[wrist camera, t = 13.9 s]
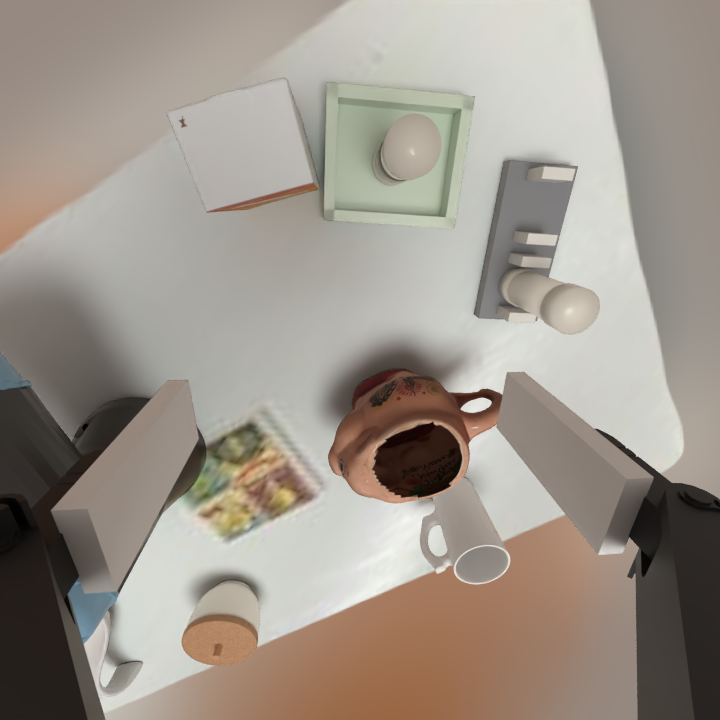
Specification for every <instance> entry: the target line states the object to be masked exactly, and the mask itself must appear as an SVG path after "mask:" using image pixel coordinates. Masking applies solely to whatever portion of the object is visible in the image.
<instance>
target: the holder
mask: <svg viewBox="0 0 720 720" xmlns="http://www.w3.org/2000/svg"><path fill="white" fill-rule="evenodd" d="M577 169H578V166H568V165H556V164H544V163H532V162H520V161H507V162H504V164H503V169H502V174H501V180H500V185H499V190H498V195H497V200H496V205H495V210H494V215H493V221H492V226H491V231H490V236H489V241H488V246H487V251H486V256H485V262H484V267H483V272H482V277H481V282H480V287H479V292H478V297H477V303H476V308H475V313H474V315H475V316H477V317H478V318H487V319H505V320H506V321H508V322H526V323H535V321H537V318H540V319H542V320H543V321H544V322H545V323H546V324H547V325H549V326H551V327H552V328H554V329H556V330H558V331H559V332H561V333H563V334H568V335H572V334H577V333H580V332H582V331H584V330H586V329H587V328H588V327H590V326H591V325H592V324H593V322H594V321H595V320H596V318H597V316H598V313H599V309H600V302H599V298H598V296H597V295H596V294H595V293H594V292H593V291H591V290H589V289H586V288H583V287H580V286H577V285H575V284H570V283H563V282H560V281H557V280H554V279H551V278H549V273H550V270H551V266H552V262H553V258H554V255H555V251H556V247H557V243H558V240H559V236H560V232H561V228H562V225H563V221H564V217H565V213H566V210H567V206H568V202H569V199H570V195H571V191H572V187H573V184H574V180H575V176H576V172H577Z"/></svg>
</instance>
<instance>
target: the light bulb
mask: <svg viewBox="0 0 720 720" xmlns="http://www.w3.org/2000/svg"><path fill="white" fill-rule="evenodd" d="M440 152H441V136H440V133H439V130H438V128H437V126H436V125H435V123H434V122H433V121H432V120H431V119H430V118H428V117H427V116H425V115H422V114H418V113H412V114H407V115H405V116H403V117H401V118H399V119H398V120H397V121H396V122H395V123H394V124H393V125H392V127H391V128H390V130H389V131H388V133H387V134H386V136H385V138H384V140H383V141H382V142H381V143H380V144H379V146H378V147H377V149H376V150H375V152H374V154H373V157H372V170H373V173H374V175H375V177H376V178H377V179H378V181H380V182H381V183H382V184H384V185H387V186H395V185H398V184H401V183H403V182H405V181H406V180H413V179H416V178H419V177H422V176H424V175H426V174H427V173H428V172H430V171H431V170H432V169H433V167H434V166H435V165H436V163H437V161H438V159H439V156H440Z"/></svg>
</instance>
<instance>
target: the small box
mask: <svg viewBox="0 0 720 720" xmlns="http://www.w3.org/2000/svg"><path fill="white" fill-rule="evenodd" d="M166 114H167V116H168V118H169V121H170V123H171V126H172V128H173V131H174V133H175V135H176V138H177V140H178V143H179V145H180V148H181V150H182V152H183V155H184V158H185V160H186V163H187V165H188V168H189V170H190V173H191V175H192V178H193V180H194V183H195V185H196V188H197V190H198V193H199V195H200V198H201V200H202V203H203V205H204V208H205V211H206V212H218V211H233V210H248V209H251V208H254V207H257V206H260V205H263V204H267V203H270V202H274V201H277V200H281V199H285V198H288V197H292V196H296V195H299V194H303V193H307V192H311V191H315V190H318V189H320V187H319V183H318V179H317V175H316V171H315V167H314V164H313V160H312V156H311V152H310V148H309V145H308V141H307V137H306V133H305V129H304V126H303V122H302V119H301V116H300V113H299V110H298V108H297V105H296V103H295V100H294V97H293V95H292V92H291V89H290V86H289V83H288V80H287V79H286V78H280V79H276V80H272V81H268V82H264V83H260V84H257V85H253V86H249V87H246V88H242V89H238V90H234V91H229V92H225V93H221V94H218V95H215V96H212V97H209V98H207V99H204V100H201V101H198V102H195V103H192V104H188V105H185V106H182V107H179V108H176V109H172V110H169V111H167V112H166Z"/></svg>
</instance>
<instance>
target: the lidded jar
mask: <svg viewBox="0 0 720 720" xmlns="http://www.w3.org/2000/svg"><path fill="white" fill-rule="evenodd" d="M259 626H260V608H259V603H258V600H257V598H256V596H255V595H254V593H253V592H252V590H251V588H250V587H249V586H248V585H247V584H246V583H244V582H241V581H237V580H227V581H224V582H221V583H219V584H218V585H217V586H216V587H214V588H212V589H211V590H210V591H208V592H207V593H206V594H205V595H204V596H203V597H202V598H201V600H200V601H199V602H198V604H197V606H196V607H195V609H194V611H193V613H192V615H191V617H190V620H189V622H188V625H187V628H186V629H185V631H184V634H183V637H182V647H183V649H184V651H185V652H186V653H187V654H188V655H189V656H190V657H191V658H193V659H194V660H197V661H199V662H201V663H205V664H209V665H218V666H222V665H223V666H224V665H232V664H236V663H239V662H242V661H244V660H246V659H247V658H249V657H250V656H251V655H252V654H253V653H254V652H255V650H256V648H257V642H258V632H259Z"/></svg>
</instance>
